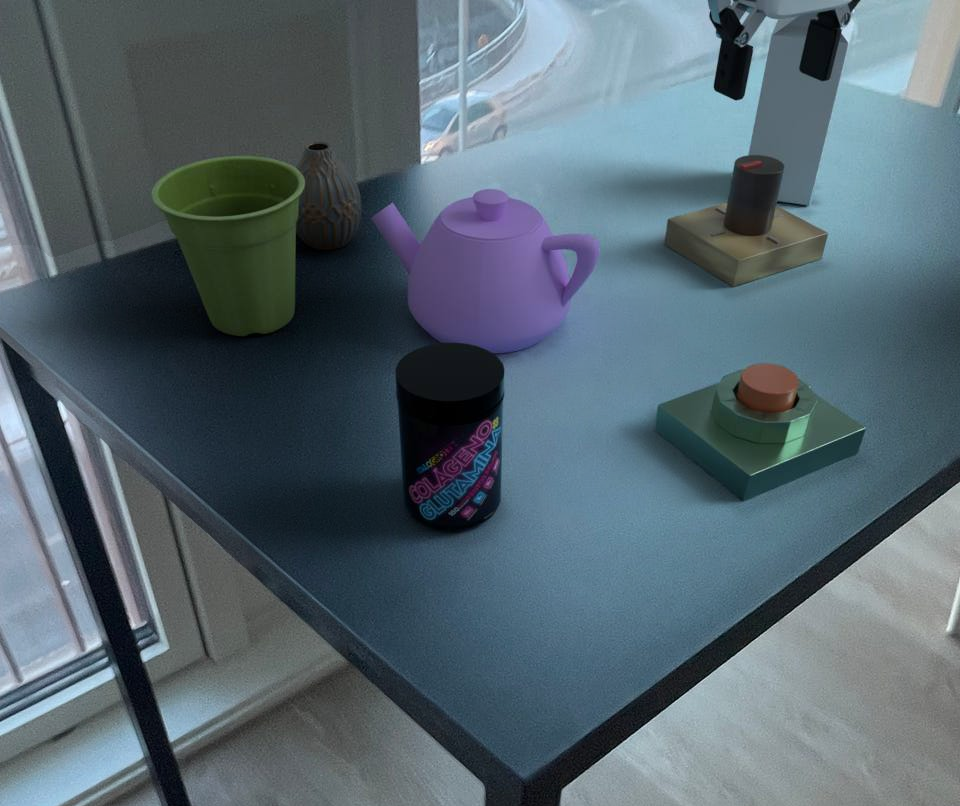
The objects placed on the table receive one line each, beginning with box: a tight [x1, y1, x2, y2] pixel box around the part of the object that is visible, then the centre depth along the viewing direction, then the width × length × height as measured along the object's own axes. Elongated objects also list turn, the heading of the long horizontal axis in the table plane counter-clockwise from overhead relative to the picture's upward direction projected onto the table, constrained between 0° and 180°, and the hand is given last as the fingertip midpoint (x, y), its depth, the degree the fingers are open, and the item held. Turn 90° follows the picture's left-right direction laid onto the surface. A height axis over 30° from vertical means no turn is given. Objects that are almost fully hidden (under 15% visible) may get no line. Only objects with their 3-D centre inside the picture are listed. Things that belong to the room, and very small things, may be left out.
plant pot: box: [150, 155, 305, 337], centre depth 83 cm, size 12×12×11 cm
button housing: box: [654, 368, 867, 502], centre depth 73 cm, size 11×10×4 cm
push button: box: [737, 362, 800, 413], centre depth 71 cm, size 4×4×2 cm
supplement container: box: [394, 342, 505, 533], centre depth 65 cm, size 7×7×10 cm
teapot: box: [370, 188, 601, 354], centre depth 83 cm, size 14×20×11 cm
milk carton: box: [748, 8, 856, 206], centre depth 99 cm, size 7×7×19 cm
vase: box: [294, 140, 362, 251], centre depth 94 cm, size 7×7×9 cm
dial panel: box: [663, 202, 829, 288], centre depth 95 cm, size 11×10×3 cm
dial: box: [724, 155, 784, 235], centre depth 92 cm, size 4×4×6 cm
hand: (771, 85), depth 85 cm, fingers open, 9 cm apart
